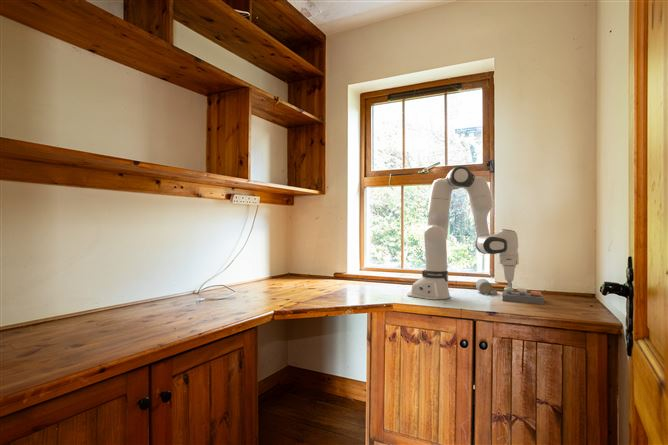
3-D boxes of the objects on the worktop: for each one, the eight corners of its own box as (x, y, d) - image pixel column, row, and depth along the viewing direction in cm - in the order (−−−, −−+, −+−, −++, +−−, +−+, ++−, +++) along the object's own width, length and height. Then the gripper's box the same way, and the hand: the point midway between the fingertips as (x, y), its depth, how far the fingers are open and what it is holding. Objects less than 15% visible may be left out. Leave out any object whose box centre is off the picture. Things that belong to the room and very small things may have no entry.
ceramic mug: (479, 294, 190) (479, 280, 190) (475, 291, 198) (475, 278, 198) (499, 295, 188) (499, 281, 188) (494, 292, 196) (495, 279, 196)
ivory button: (517, 297, 174) (517, 289, 174) (517, 296, 177) (517, 287, 177) (527, 298, 172) (527, 290, 172) (526, 297, 175) (526, 288, 175)
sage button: (504, 296, 176) (504, 288, 176) (504, 295, 180) (504, 287, 180) (513, 297, 174) (513, 289, 174) (513, 295, 178) (513, 287, 178)
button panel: (502, 300, 173) (502, 295, 173) (502, 296, 184) (502, 291, 184) (543, 304, 165) (543, 298, 165) (541, 299, 176) (541, 293, 176)
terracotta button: (531, 300, 171) (530, 292, 171) (530, 299, 175) (530, 290, 175) (541, 301, 169) (541, 293, 169) (540, 300, 173) (540, 291, 173)
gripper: (502, 258, 188) (503, 283, 188) (501, 262, 170) (502, 289, 170) (515, 259, 185) (516, 284, 185) (516, 262, 167) (516, 290, 167)
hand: (509, 287), depth 177 cm, fingers closed
